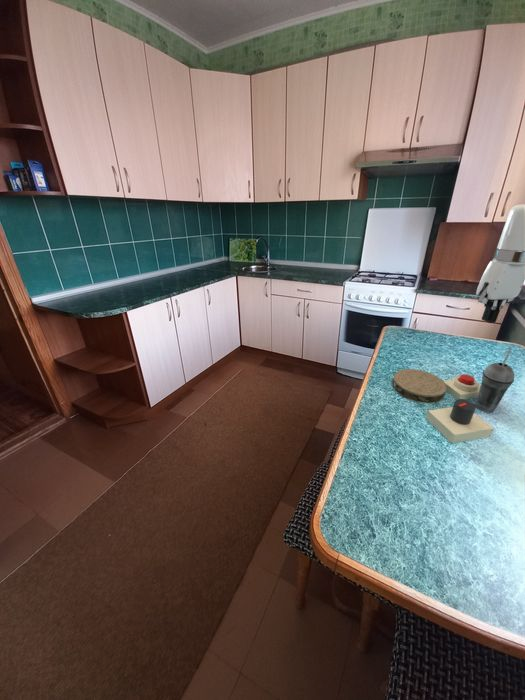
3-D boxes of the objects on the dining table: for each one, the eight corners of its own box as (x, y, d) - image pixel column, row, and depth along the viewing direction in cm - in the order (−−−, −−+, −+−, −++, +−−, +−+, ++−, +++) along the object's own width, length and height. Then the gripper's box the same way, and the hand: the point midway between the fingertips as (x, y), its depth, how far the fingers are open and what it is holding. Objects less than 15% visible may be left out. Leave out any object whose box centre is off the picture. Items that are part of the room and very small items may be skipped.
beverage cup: (466, 407, 89) (489, 349, 80) (475, 398, 93) (497, 342, 84) (495, 419, 84) (522, 359, 75) (502, 409, 88) (529, 350, 79)
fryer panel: (461, 413, 87) (464, 404, 85) (490, 436, 78) (494, 427, 77) (425, 418, 85) (428, 410, 83) (451, 443, 76) (454, 434, 75)
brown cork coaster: (444, 409, 89) (447, 401, 87) (388, 394, 96) (390, 386, 94) (444, 383, 101) (446, 375, 99) (395, 372, 108) (396, 365, 106)
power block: (465, 382, 101) (469, 373, 99) (485, 396, 94) (489, 386, 92) (440, 386, 99) (443, 376, 97) (458, 400, 92) (462, 390, 90)
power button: (466, 378, 97) (467, 373, 96) (476, 384, 93) (477, 380, 93) (455, 379, 96) (457, 375, 95) (465, 386, 93) (467, 381, 92)
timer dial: (457, 411, 83) (463, 396, 80) (474, 421, 79) (480, 406, 76) (445, 415, 81) (451, 400, 79) (462, 426, 77) (468, 411, 75)
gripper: (521, 252, 81) (498, 314, 89) (475, 255, 79) (456, 318, 87) (550, 257, 74) (521, 323, 83) (500, 260, 72) (476, 328, 80)
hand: (488, 321), depth 85 cm, fingers closed
